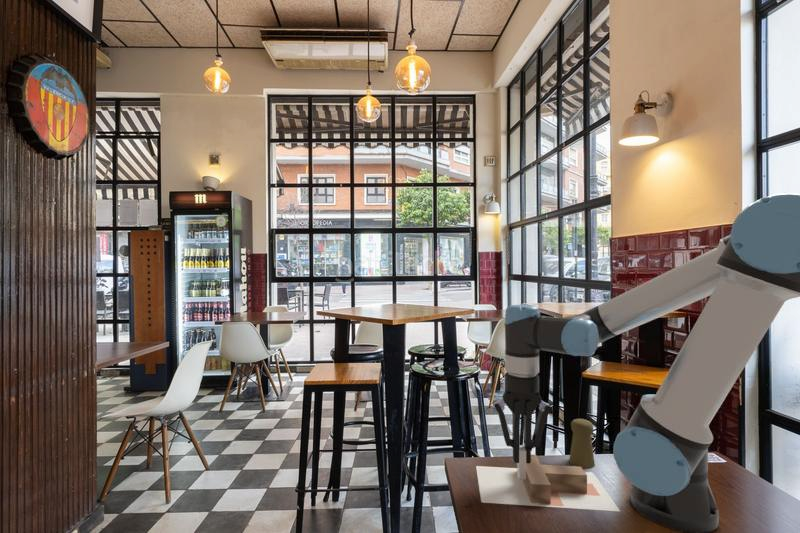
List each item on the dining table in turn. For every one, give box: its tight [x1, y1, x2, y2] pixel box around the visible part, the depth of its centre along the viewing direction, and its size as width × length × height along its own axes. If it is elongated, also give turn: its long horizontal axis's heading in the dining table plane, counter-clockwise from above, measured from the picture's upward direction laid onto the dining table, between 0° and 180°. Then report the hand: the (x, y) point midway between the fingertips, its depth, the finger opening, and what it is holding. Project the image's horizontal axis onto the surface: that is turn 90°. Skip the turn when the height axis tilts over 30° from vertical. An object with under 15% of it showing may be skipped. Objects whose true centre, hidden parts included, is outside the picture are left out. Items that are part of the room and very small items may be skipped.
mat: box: [475, 465, 621, 513], centre depth 94 cm, size 28×16×1 cm, turn 84°
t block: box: [523, 454, 587, 504], centre depth 94 cm, size 13×14×4 cm
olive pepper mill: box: [568, 418, 596, 469], centre depth 106 cm, size 6×6×11 cm
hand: (521, 476), depth 95 cm, fingers closed
